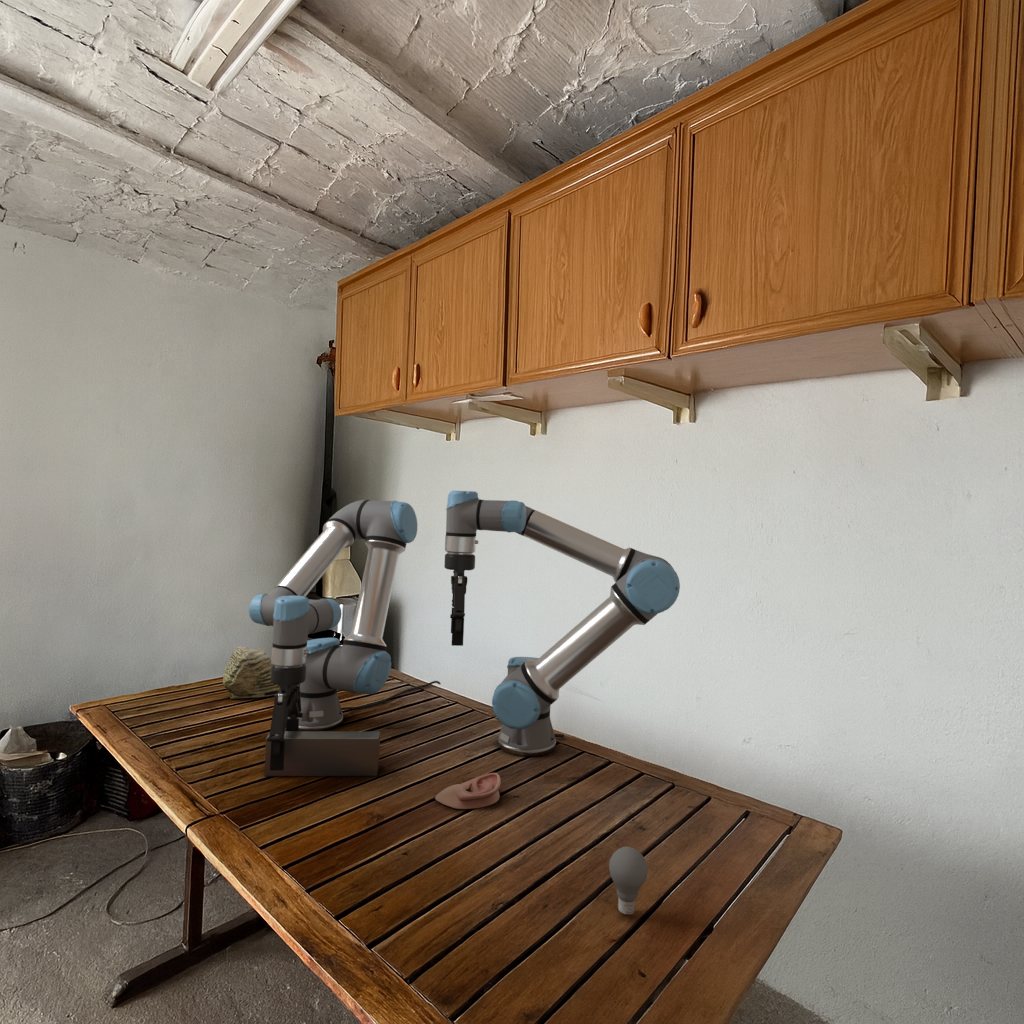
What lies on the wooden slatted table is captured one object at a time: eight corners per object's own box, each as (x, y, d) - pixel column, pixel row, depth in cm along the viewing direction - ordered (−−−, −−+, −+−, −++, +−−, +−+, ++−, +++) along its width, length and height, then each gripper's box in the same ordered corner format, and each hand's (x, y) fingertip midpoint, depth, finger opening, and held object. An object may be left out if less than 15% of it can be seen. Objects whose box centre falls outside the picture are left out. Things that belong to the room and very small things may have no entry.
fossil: (218, 695, 195) (220, 647, 195) (278, 685, 208) (279, 640, 207) (228, 703, 189) (230, 653, 188) (289, 692, 201) (290, 645, 201)
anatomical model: (430, 786, 132) (447, 764, 143) (430, 805, 132) (446, 781, 143) (492, 795, 129) (504, 771, 140) (492, 814, 129) (504, 789, 140)
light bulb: (603, 900, 103) (606, 839, 103) (639, 899, 103) (642, 839, 103) (612, 924, 97) (615, 860, 97) (650, 924, 97) (653, 860, 97)
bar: (264, 776, 142) (265, 738, 142) (269, 768, 147) (271, 731, 146) (377, 775, 145) (378, 738, 145) (378, 767, 149) (380, 731, 149)
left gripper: (293, 679, 132) (288, 781, 132) (316, 652, 157) (312, 737, 157) (255, 679, 131) (251, 780, 132) (285, 651, 156) (281, 737, 156)
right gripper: (478, 558, 144) (474, 651, 145) (473, 549, 169) (469, 628, 169) (445, 557, 143) (441, 650, 144) (444, 548, 168) (441, 628, 168)
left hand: (284, 757), depth 144 cm, fingers open, 13 cm apart
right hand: (456, 639), depth 157 cm, fingers open, 13 cm apart
